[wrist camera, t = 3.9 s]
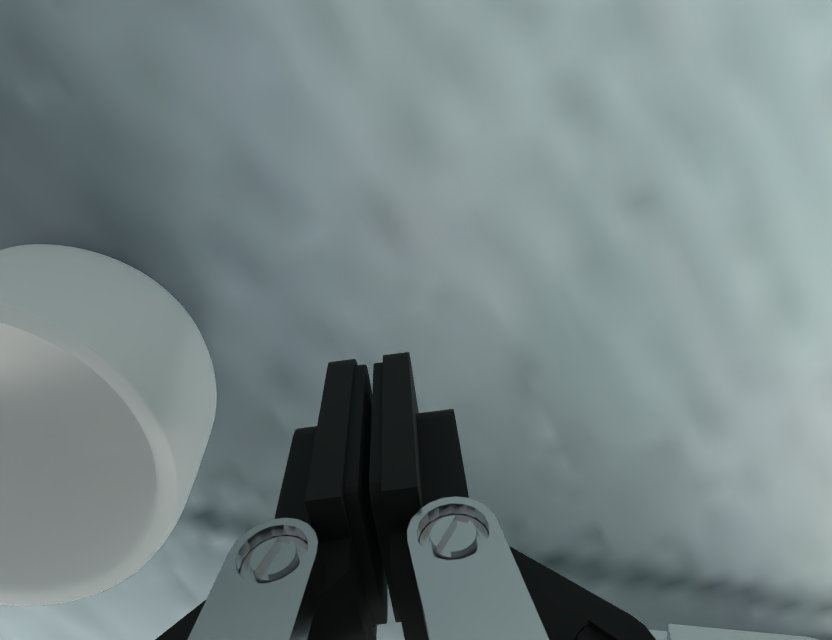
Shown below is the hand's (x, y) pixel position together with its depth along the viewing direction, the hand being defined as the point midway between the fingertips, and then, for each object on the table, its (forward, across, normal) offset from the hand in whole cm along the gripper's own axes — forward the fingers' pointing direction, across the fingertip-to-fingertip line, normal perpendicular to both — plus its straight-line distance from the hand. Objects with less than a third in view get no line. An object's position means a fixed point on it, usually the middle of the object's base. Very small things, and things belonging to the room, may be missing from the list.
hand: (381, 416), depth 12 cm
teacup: (+5, +8, +1) cm, 10 cm away
